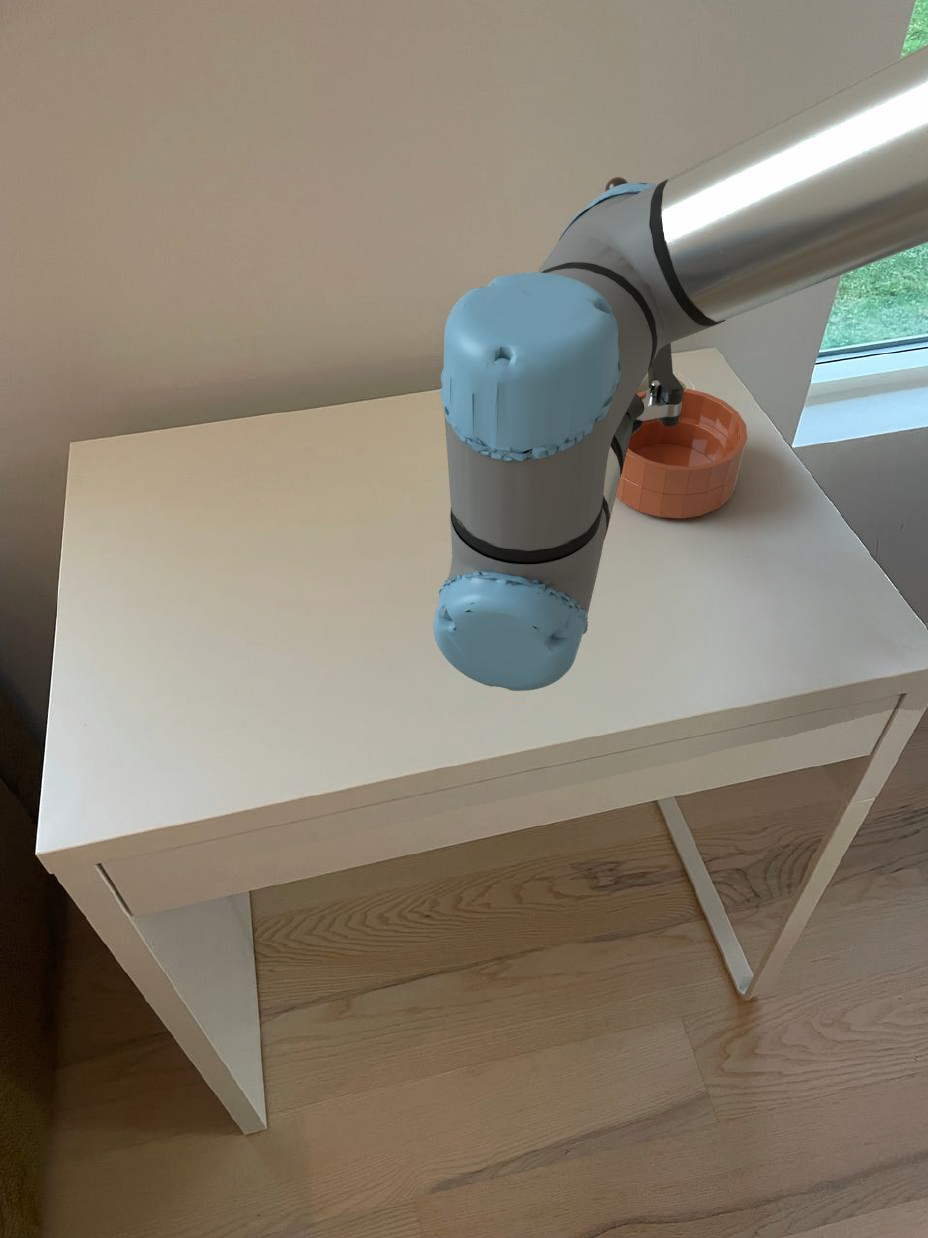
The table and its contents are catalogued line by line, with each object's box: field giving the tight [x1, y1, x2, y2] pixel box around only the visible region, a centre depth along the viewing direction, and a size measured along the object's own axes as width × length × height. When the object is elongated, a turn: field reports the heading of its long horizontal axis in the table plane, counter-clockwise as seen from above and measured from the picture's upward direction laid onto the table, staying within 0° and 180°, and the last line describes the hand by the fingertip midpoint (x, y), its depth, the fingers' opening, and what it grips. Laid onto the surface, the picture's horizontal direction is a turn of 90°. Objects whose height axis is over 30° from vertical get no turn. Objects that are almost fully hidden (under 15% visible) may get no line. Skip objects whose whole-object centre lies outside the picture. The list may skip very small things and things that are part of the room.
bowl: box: [616, 387, 748, 519], centre depth 88 cm, size 12×12×6 cm
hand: (618, 271), depth 73 cm, fingers closed on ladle, 2 cm apart
